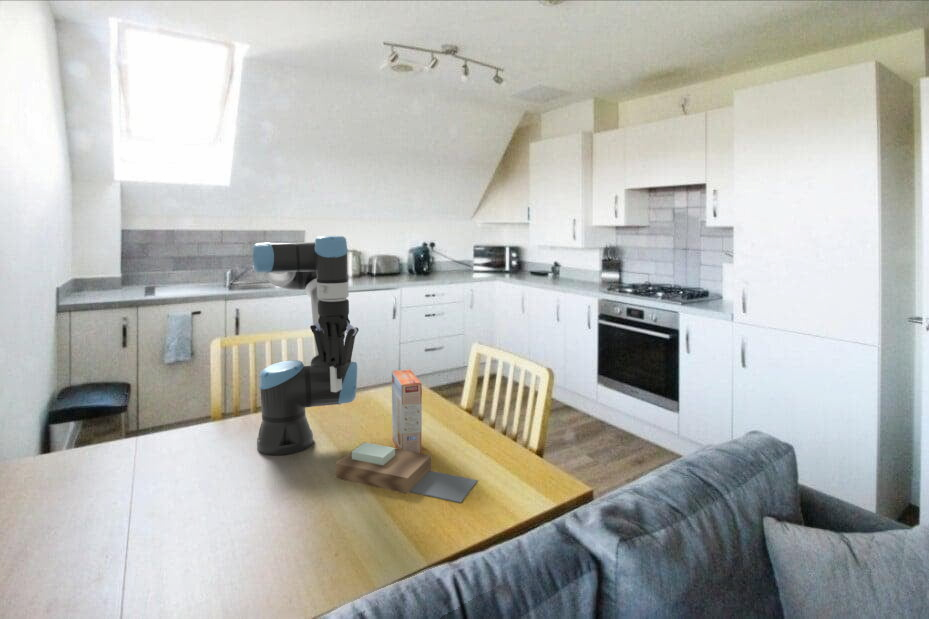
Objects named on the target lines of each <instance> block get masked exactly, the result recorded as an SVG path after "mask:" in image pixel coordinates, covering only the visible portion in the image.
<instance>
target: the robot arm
mask: <svg viewBox="0 0 929 619" xmlns="http://www.w3.org/2000/svg"><path fill="white" fill-rule="evenodd" d="M347 244H348V243H347V239H346V237H345V236H343V235H320V236H316V237H315V240H314V242H313V241H309V242H307V241H305V242H304V241H303V242H301V241H300V242H269V241H266V242H257V243H255V244H253V246H252V260H253V269H254V271H255V272H256V273H263V275H264V277H265V279H266V280H267V281H268V283H270V284H272V285H273V286H276V287H278V288H282V289H285V290H293V291H298V290H300V291H301V290H303V291H304V290H305V293H306V295H307V296H308V297H309V298H310V301H311V302H310V303H311V314H312V324H311V325H310V330H311V333H312V334H313V341H314V352H315V353H314V354H315V355H314V356H313V357H312V359H311V360H310V365H305V364H304V363H303V361H302V360H297V359H296V360H294V359H293V360H292V359H291V360H283V361H280V362H279V361H278V362H275V363H273V364H270V365H268V366H266V367H265V368H263V369H262V370H261V372H260V373H259V386H258V387H259V389H260V403H261V405H260V406H261V424H260V428H259V431H258V436H257V438H256V448H257V450H258V451H259V452H260V453H262V454H265V455H270V456H284V455H285V456H286V455H291V454H295V453H299V452H301V451H303V450H305V449H308V448H309V447H311V445H312V444H313V443H314V433H313V431H312V429H311V427H310V424H309V421H308V418H307V415H306V408H313V407H322V406H323V407H324V406H325V407H326V406H334V405H335V406H336V405H339V406H340V405H342V404H343V405H344V404H349V403H353V402H354V401H355V399H356V396H357V386H358V384H357V383H358V363H357V362H356V361H355V362H354V361H352V356H353V352H354V346H355V341H356V336H357V334H358V332H359V328H358V326H357V327H354V326H353V325H351V321H350V320H349V314H350V303H349V302H350V301H349V299H348V297H350V296H349V292H350V291H349V279H348V252H349V250H348V245H347Z"/></svg>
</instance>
